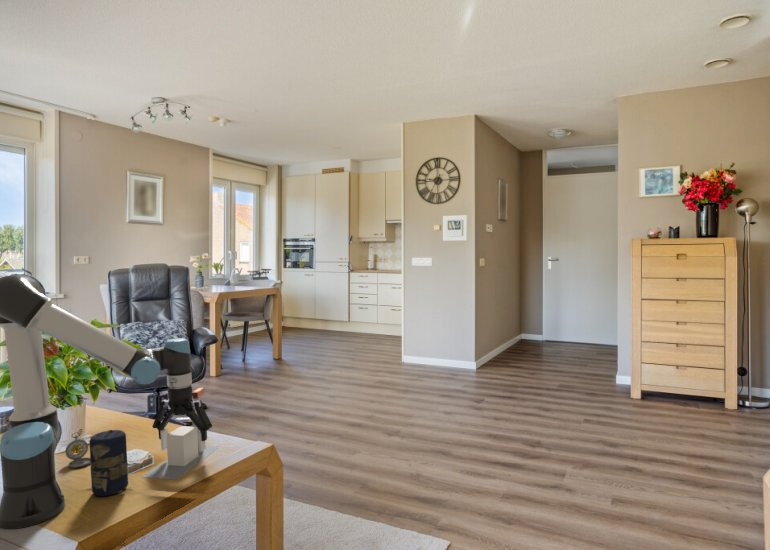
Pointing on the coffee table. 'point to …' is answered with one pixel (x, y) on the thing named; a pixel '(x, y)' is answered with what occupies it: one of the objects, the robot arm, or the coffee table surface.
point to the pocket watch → (77, 458)
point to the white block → (182, 446)
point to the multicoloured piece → (196, 396)
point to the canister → (108, 462)
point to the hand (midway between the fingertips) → (183, 449)
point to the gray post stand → (176, 471)
